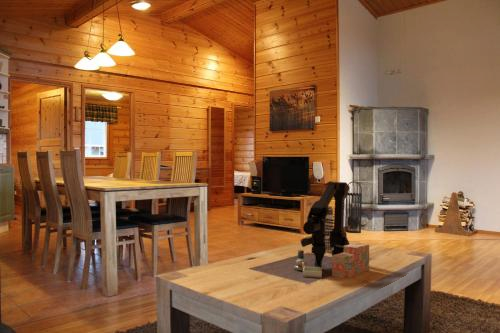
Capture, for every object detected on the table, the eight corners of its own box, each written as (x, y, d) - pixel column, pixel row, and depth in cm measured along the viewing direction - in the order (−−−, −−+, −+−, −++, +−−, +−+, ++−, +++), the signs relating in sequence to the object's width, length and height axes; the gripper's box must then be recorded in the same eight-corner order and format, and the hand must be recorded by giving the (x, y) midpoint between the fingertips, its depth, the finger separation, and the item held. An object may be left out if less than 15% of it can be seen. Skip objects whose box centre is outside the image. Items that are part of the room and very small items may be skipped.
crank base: (306, 268, 204) (306, 259, 204) (305, 271, 198) (306, 262, 198) (293, 267, 205) (293, 259, 205) (292, 270, 199) (292, 262, 199)
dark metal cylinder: (322, 268, 204) (322, 253, 204) (322, 270, 201) (322, 255, 200) (314, 267, 205) (314, 253, 205) (314, 269, 201) (314, 254, 201)
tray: (321, 272, 196) (321, 267, 196) (321, 277, 188) (321, 272, 188) (303, 271, 197) (303, 266, 197) (302, 276, 189) (302, 270, 189)
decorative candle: (317, 248, 249) (317, 205, 249) (333, 249, 248) (334, 205, 247) (317, 251, 240) (317, 206, 239) (334, 252, 239) (334, 207, 238)
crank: (303, 266, 200) (303, 255, 200) (296, 266, 200) (296, 255, 200) (304, 261, 211) (304, 250, 210) (297, 260, 211) (297, 250, 211)
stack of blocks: (343, 279, 187) (344, 250, 187) (331, 276, 191) (332, 248, 191) (369, 270, 202) (369, 244, 202) (357, 267, 206) (357, 242, 206)
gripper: (302, 227, 213) (302, 259, 213) (300, 234, 194) (300, 268, 195) (325, 228, 211) (324, 260, 211) (325, 235, 193) (325, 270, 193)
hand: (318, 264), depth 203 cm, fingers open, 4 cm apart
